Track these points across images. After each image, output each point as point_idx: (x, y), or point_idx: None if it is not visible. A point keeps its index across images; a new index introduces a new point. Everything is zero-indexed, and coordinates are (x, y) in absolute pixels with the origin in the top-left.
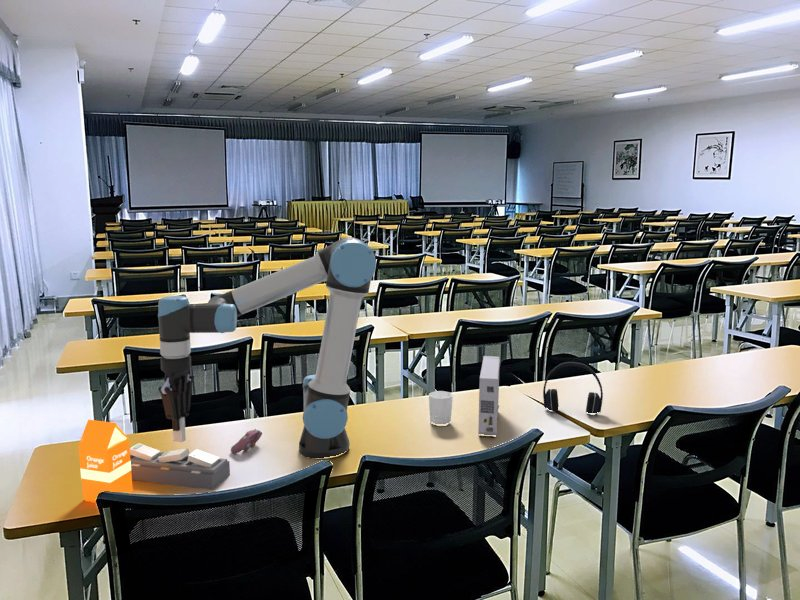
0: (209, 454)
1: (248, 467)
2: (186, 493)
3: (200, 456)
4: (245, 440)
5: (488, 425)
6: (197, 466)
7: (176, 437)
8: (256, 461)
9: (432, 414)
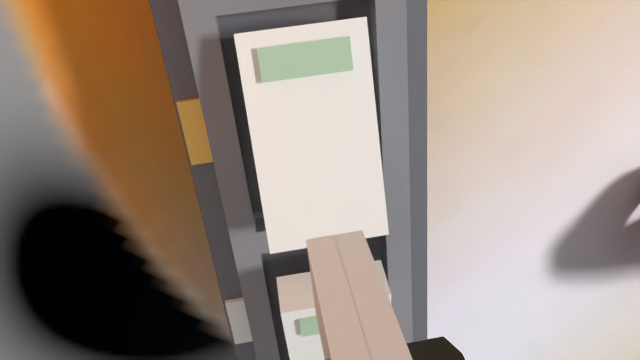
0: None
1: (496, 327)
2: (158, 268)
3: (322, 348)
4: None
5: None
6: (270, 325)
7: (315, 296)
8: (562, 319)
9: None
